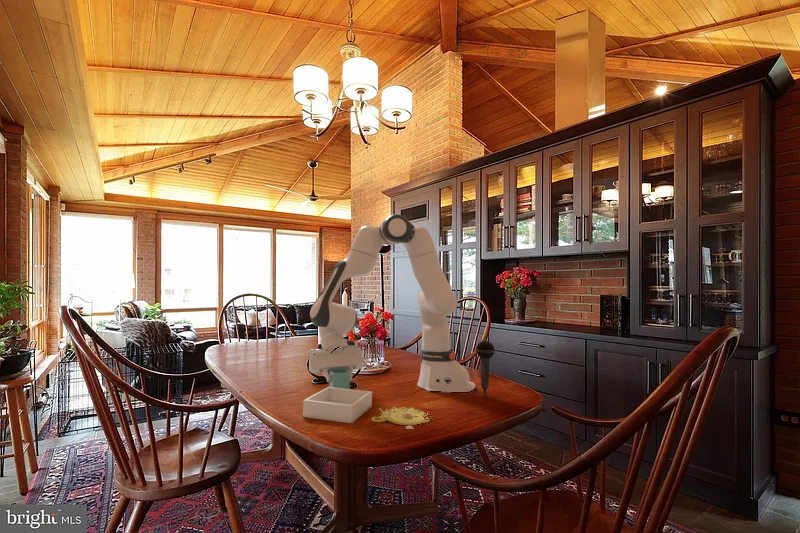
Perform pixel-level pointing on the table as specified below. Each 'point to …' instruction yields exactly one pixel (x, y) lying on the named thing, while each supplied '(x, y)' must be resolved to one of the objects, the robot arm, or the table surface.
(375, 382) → the table surface
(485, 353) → the microphone
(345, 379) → the block
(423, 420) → the decorative object
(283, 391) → the table surface
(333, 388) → the white open box
